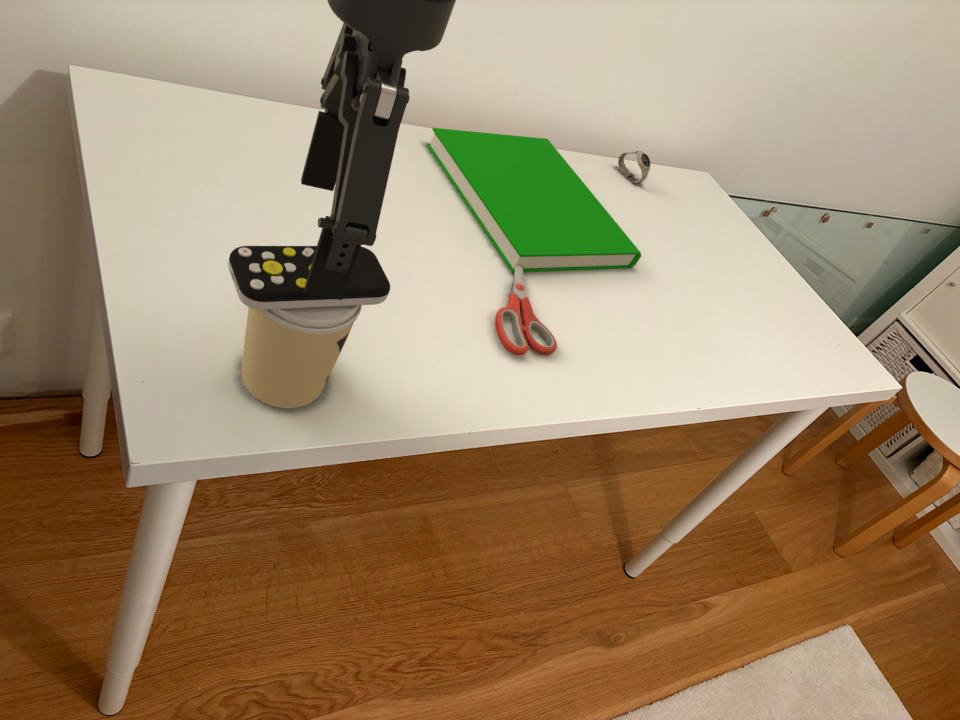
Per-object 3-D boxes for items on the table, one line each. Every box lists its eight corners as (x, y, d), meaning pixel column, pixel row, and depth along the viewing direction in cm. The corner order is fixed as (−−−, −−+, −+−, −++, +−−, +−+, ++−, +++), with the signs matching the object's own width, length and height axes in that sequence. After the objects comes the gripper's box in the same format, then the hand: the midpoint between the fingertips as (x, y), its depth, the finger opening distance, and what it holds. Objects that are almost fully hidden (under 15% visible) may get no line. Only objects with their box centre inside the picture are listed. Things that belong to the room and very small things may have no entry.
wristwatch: (634, 187, 126) (649, 163, 122) (610, 166, 128) (624, 142, 125) (645, 185, 128) (660, 161, 125) (621, 164, 130) (635, 140, 127)
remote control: (391, 306, 62) (398, 289, 61) (241, 314, 55) (245, 295, 54) (367, 258, 66) (372, 241, 64) (222, 260, 59) (226, 241, 57)
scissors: (522, 247, 98) (526, 239, 97) (558, 364, 85) (564, 356, 84) (470, 236, 95) (474, 228, 94) (499, 356, 82) (505, 348, 81)
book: (511, 272, 94) (520, 255, 92) (426, 145, 109) (433, 127, 107) (633, 268, 107) (643, 252, 105) (542, 154, 121) (550, 139, 119)
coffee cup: (342, 413, 68) (377, 324, 60) (240, 419, 63) (263, 323, 56) (320, 340, 73) (349, 250, 66) (224, 341, 69) (243, 244, 61)
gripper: (500, 78, 37) (380, 357, 50) (432, -87, 53) (355, 158, 67) (355, 33, 34) (269, 342, 47) (330, -127, 50) (272, 138, 64)
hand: (319, 235), depth 57 cm, fingers open, 13 cm apart
